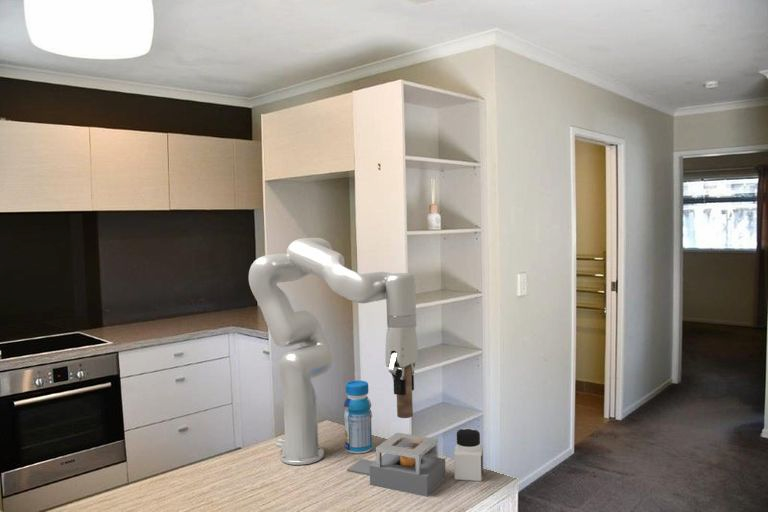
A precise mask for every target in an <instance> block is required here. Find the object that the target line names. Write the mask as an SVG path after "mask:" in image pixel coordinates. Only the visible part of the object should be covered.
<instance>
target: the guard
mask: <svg viewBox="0 0 768 512" xmlns="http://www.w3.org/2000/svg"><path fill="white" fill-rule="evenodd" d="M405 447H410V448H414V449H409V448H405ZM382 453H383V454H386V453H388V454H394V455H399V456H405V457H411V458H415V463H416V474H417V475H420V474H421V457H428V458H434V459H437V458H439V440H438V438H434V437H429V436H428V437H427V436H423V435H422V436H420V435H414V434H409V433H403V432H401V433H400V432H396V433H394V434H393V435H391V436H390V437H389V438H387V439H386V440H384V441H383V442H382V443H380V444H378V445H377V446H376V447H375V456H376V457H375V459H376V460H375V461H376V467H381V466H382V456H383V455H382Z"/></svg>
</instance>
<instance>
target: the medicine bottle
mask: <svg viewBox="0 0 768 512" xmlns="http://www.w3.org/2000/svg"><path fill="white" fill-rule="evenodd" d="M480 440H481V434H480V432H479V431H478V430H477V429H475V428H470V427H468V428H467V427H465V428H460V429H458V430H457V432H456V444H455V448H454V452H453V474H454V480H456V481H458V480H459V481H471V482H473V481H474V482H482V481H483V475H484V474H483V473H484V458H483V457H484V453H483V452H484V449H483V448H484V447H483V445H482V444H481V441H480Z"/></svg>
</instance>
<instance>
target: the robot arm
mask: <svg viewBox="0 0 768 512" xmlns="http://www.w3.org/2000/svg"><path fill="white" fill-rule="evenodd" d="M309 275H313V276H314V277H317V278H319V279H321V280H323V281H325V282H326V284H327V286H328V287H329V288H330V289H331V290H332V291H333V292H334V293H335V294H337V295H339V296H341V297H343V298H345V299H347V300H350V301H351V302H354V303H358V304H369V303H373V302H379V301H383V300H385V301H386V324H387V325H386V327H387V329H386V336H385V354H384V356H385V357H384V358H385V366H386V367H387V368H388V372H389V373H390V374H391V377H392V380H393V394H394V395H396V396H397V395H406V379H404V368H405V367H406V366H408V365H410V364H411V376H412V392H413V391H414V390H415V380H414V377H415V376H414V375H415V366H416V362H417V361H418V358H419V357H418V356H419V355H418V353H419V352H418V350H419V349H418V348H419V347H418V339H417V338H418V337H417V336H418V335H417V329H416V328H417V327H418V325H417V303H416V301H417V299H416V278H415V276H414V275H413V274H412V273H410V272H409V273H408V272H396V273H394V272H393V273H392V272H387V271H386V272H385V271H376V272H366V273H360V272H357V271H354V270H352V269H350V268H349V267H346V266H345V258H344V256H343V255H342V253H340V252H338V251H336V250H333V247H332V245H331V243H330V242H328V241H327V240H326V239H324V238H321V237H307V238H306V237H304V238H298V239H295V240H293V241H291V243H289V245H288V247H287V249H286V253H275V254H273V253H272V254H266V255H262V256H260V257H258V258H256V259H255V260H254V261H253V263H251V265H250V268H249V271H248V284H249V287H250V290H251V292H252V295H253V296H254V299H255V300H256V301H257V304H258V305H259V308H260V310H261V313H262V316H263V318H264V321H265V323H266V326H267V328H268V331H269V334H270V336H271V338H272V340H273V342H274V343H275V345H277V346H278V347H280V348H287V347H292V346H296V345H300V347H298V348H294V349H292V350H289V351H287V352H286V353H285V354H283V356H281V358H280V360H279V362H278V363H279V364H278V369H279V370H278V371H279V376H280V381H281V384H282V385H281V386H282V393H283V396H282V397H283V416H284V421H283V423H284V438H283V437H278V438H277V440H276V442H275V447H276V448H281V449H282V451H281V452H280V454H279V460H280V461H281V462H283V463H284V464H287V465H292V466H293V465H294V466H298V465H299V466H300V465H301V466H303V465H309V464H314V463H316V462H318V461H320V460H322V459H323V458H324V456H325V452H324V449H323V448H322V447H320V446H319V421H318V397H317V396H318V395H317V391H316V388H315V387H314V385H313V382H312V379H314V378H317V377H320V376H323V375H324V374H326V373H328V372H329V371H330V370H331V369H332V367H333V362H334V360H333V359H334V358H333V357H334V356H333V353H332V349H331V348H330V345H329V343H328V340H327V338H326V335H325V333H324V331H323V329H322V326H321V324H320V322H319V319H317V317H316V315H314V314H313V313H311V312H310V311H306V310H298V311H294V309H293V307H292V305H291V302H290V299H289V298H288V296H287V294H286V293H285V292H284V290H282V289H281V288H280V287H279V286H278V283H279V284H280V283H286V282H294V281H299V280H302V279H304V278H305V277H307V276H309ZM396 364H399V366H400V367H397V366H396ZM397 369H400V372H399V371H398V370H397Z"/></svg>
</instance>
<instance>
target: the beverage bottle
mask: <svg viewBox="0 0 768 512" xmlns="http://www.w3.org/2000/svg"><path fill="white" fill-rule="evenodd" d="M345 394H346V396H347V397H346V399H345V401H344V403H343V408H344V412H343V419H344V438H345V439H344V449H345V451H346V452H347V453H350V454H355V455H356V454H357V455H358V454H365V453H368V452H370V451H371V450H372V449H373V437H372V435H373V434H372V418H373V412H372V410H371V408H372V402H371V400H370V398H369V397H368V395H369V382H368V381H366V380H350V381H348V382H346V383H345Z"/></svg>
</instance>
